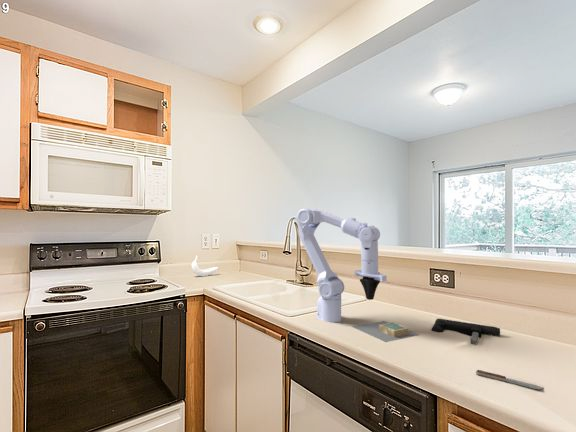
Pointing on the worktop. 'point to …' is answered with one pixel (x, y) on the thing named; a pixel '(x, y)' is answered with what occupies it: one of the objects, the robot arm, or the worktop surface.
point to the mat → (374, 331)
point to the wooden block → (393, 329)
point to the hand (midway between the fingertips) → (370, 299)
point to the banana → (200, 271)
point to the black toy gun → (465, 329)
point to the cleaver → (503, 379)
